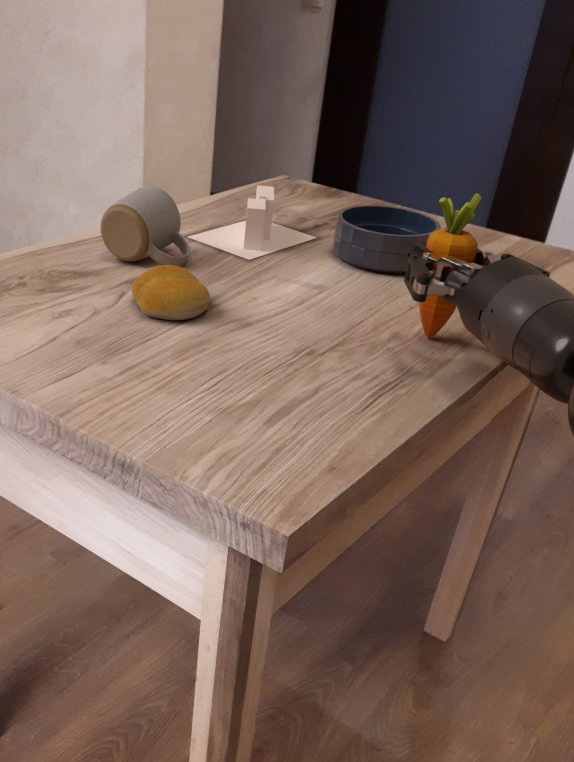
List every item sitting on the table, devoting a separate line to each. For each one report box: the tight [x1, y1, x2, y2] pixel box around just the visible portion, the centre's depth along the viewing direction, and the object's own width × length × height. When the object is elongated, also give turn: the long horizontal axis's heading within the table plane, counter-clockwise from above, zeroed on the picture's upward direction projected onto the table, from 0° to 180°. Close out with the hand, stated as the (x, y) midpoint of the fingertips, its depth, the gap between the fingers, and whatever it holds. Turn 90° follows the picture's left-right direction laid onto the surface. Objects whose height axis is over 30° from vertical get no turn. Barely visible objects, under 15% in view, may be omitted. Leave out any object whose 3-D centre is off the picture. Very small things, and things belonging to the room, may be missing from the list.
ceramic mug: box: [100, 185, 191, 267], centre depth 98 cm, size 11×8×8 cm
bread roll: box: [131, 264, 211, 321], centre depth 87 cm, size 8×9×4 cm
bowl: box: [332, 204, 442, 274], centre depth 104 cm, size 13×13×5 cm
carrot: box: [418, 193, 482, 339], centre depth 81 cm, size 5×5×15 cm
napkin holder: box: [187, 184, 318, 261], centre depth 108 cm, size 15×11×6 cm
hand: (436, 251), depth 82 cm, fingers closed on carrot, 5 cm apart
